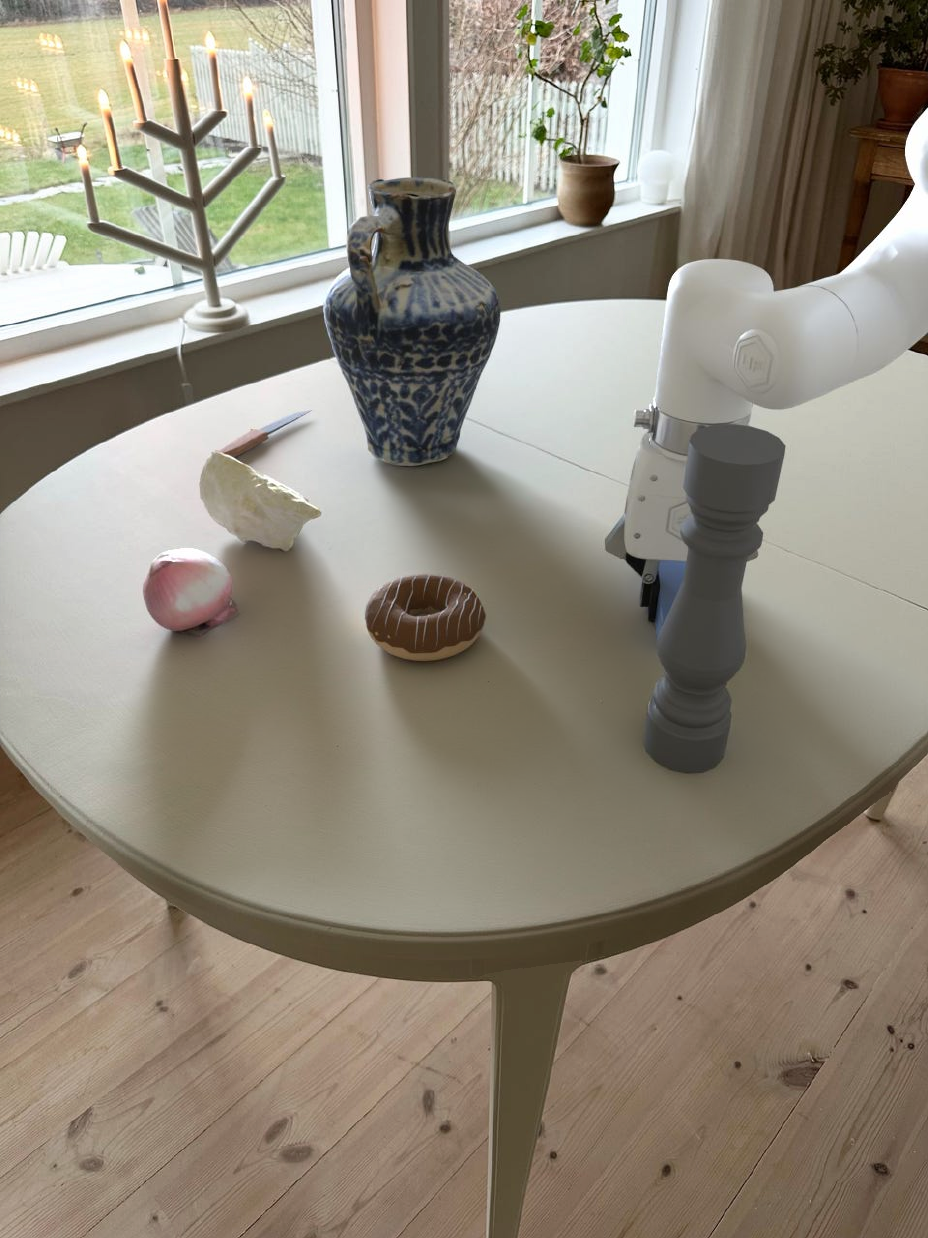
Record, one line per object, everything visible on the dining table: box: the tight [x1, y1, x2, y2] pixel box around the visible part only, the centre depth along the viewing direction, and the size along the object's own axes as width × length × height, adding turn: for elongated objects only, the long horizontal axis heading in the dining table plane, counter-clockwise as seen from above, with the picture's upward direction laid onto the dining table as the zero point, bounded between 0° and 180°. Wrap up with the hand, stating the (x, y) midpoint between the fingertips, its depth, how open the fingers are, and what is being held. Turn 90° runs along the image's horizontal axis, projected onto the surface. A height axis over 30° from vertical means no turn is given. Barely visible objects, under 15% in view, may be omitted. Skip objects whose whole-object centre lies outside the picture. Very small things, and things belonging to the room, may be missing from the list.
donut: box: [364, 573, 487, 662], centre depth 81 cm, size 11×11×4 cm
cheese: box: [198, 450, 322, 552], centre depth 94 cm, size 15×7×15 cm
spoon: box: [654, 560, 686, 642], centre depth 85 cm, size 17×5×3 cm, turn 174°
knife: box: [210, 410, 313, 458], centre depth 115 cm, size 17×1×3 cm
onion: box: [142, 547, 241, 637], centre depth 82 cm, size 8×8×7 cm
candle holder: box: [642, 424, 786, 774], centre depth 63 cm, size 6×6×25 cm
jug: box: [323, 176, 501, 467], centre depth 103 cm, size 21×19×30 cm
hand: (670, 611), depth 84 cm, fingers closed on spoon, 3 cm apart
